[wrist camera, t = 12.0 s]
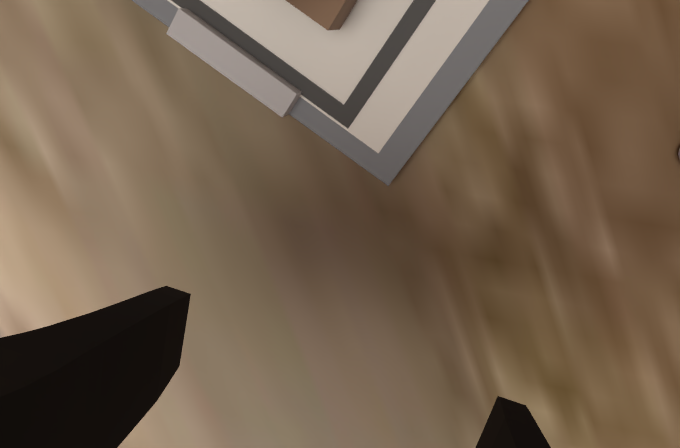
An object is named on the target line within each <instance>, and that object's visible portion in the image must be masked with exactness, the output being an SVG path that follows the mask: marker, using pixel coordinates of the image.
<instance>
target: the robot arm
mask: <svg viewBox="0 0 680 448" xmlns="http://www.w3.org/2000/svg"><path fill="white" fill-rule="evenodd" d="M678 156H679V160H680V148H679V153H678ZM190 295H191V294H189V293H186V292H183V291H180V290H177V289H174V288H171V287H168V286H165V287H161V288H158V289H155V290H152V291H149V292H147V293H144V294H141V295H138V296H136V297H133V298H130V299H128V300H125V301H122V302H120V303H117V304H114V305H111V306H108V307H106V308H103V309H100V310H97V311H94V312H92V313H89V314H85V315H82V316H79V317H76V318H73V319H69V320H66V321H63V322H60V323H57V324H53V325H50V326H47V327H43V328H40V329H36V330H32V331H28V332H24V333H20V334H16V335H11V336H7V337H2V338H0V448H117V447H118V446H119V445H120V444H121V443H122V441H123V440H124V439H125V438H126V437H127V436H128V434H129V433H130V432H131V431H132V430H133V429H134V427H135V426H136V425H137V424H138V423H139V421H140V420H141V419H142V418H143V417H144V416H145V414H146V413H147V412H148V411H149V410H150V408H151V407H152V406H153V405H154V404H155V402H156V401H157V400H158V398H159V397H160V395H161V394H162V392H163V391H164V389H165V388H166V386H167V385H168V383H169V382H170V380H171V378H172V377H173V375H174V374H175V372H176V370H177V369H178V367H179V365H180V359H181V352H182V346H183V340H184V333H185V327H186V320H187V314H188V308H189V301H190ZM476 448H551V447H550V446H549V444H548V442H547V440H546V439H545V437H544V435H543V434H542V432H541V430H540V428H539V427H538V425H537V423H536V421H535V420H534V418H533V416H532V415H531V413H530V411H529V410H528V408H527V407H526V405H523V404H520V403H517V402H514V401H511V400H508V399H505V398H502V397H499V396H498V397H497V399H496V402H495V404H494V406H493V409H492V411H491V413H490V416H489V418H488V420H487V423H486V425H485V427H484V430H483V432H482V434H481V437H480V439H479V441H478V444H477V446H476Z"/></svg>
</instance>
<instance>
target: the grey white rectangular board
mask: <svg viewBox="0 0 680 448" xmlns="http://www.w3.org/2000/svg"><path fill="white" fill-rule="evenodd" d="M132 1H133V2H135V3H136V4H138V5H139V6H140V7H142V8H143V9H144V10H146V11H147V12H149V13H150V14H151V15H153V16H154V17H156V18H157V19H158V20H160V21H161V22H162V23H164V24H165V25H167V26H168V27H169V29H168V31H167V33H166V34H168V35H169V36H170V37H172V38H173V39H174V40H176V41H177V42H179V43H180V44H181V45H183V46H184V47H185V48H187V49H188V50H190V51H191V52H192V53H194V54H195V55H197V56H198V57H199V58H201V59H202V60H203V61H205V62H206V63H208V64H209V65H210V66H212V67H213V68H215V69H216V70H217V71H219V72H220V73H221V74H223V75H224V76H226V77H227V78H228V79H230V80H231V81H232V82H234V83H235V84H237V85H238V86H239V87H241V88H242V89H244V90H245V91H246V92H248V93H249V94H250V95H252V96H253V97H255V98H256V99H257V100H259V101H260V102H262V103H263V104H264V105H266V106H267V107H268V108H270V109H271V110H273V111H274V112H275V113H277V114H278V115H279V116H281V117H284V116H286V115H288V114H290V115H291V116H292V117H294V118H295V119H296V120H298V121H299V122H301V123H302V124H303V125H305V126H306V127H307V128H309V129H310V130H312V131H313V132H314V133H316V134H317V135H319V136H320V137H321V138H323V139H324V140H325V141H327V142H328V143H330V144H331V145H332V146H334V147H335V148H336V149H338V150H339V151H341V152H342V153H343V154H345V155H346V156H348V157H349V158H350V159H352V160H353V161H354V162H356V163H357V164H359V165H360V166H361V167H363V168H364V169H365V170H367V171H368V172H370V173H371V174H372V175H374V176H375V177H377V178H378V179H379V180H381V181H382V182H383V183H385V184H386V185H388V186H389V184H390V183H391V182H392V180H393V179H394V178H395V176H396V175H397V174H398V172H399V171H400V170H401V168H402V167H403V166H404V164H405V163H406V162H407V161H408V159H409V158H410V157H411V155H412V154H413V153H414V151H415V150H416V149H417V147H418V146H419V145H420V143H421V142H422V141H423V139H424V138H425V137H426V135H427V134H428V133H429V131H430V130H431V129H432V127H433V126H434V125H435V123H436V122H437V121H438V119H439V118H440V117H441V115H442V114H443V113H444V112H445V110H446V109H447V108H448V106H449V105H450V104H451V102H452V101H453V100H454V98H455V97H456V96H457V94H458V93H459V92H460V90H461V89H462V88H463V86H464V85H465V84H466V82H467V81H468V80H469V78H470V77H471V76H472V74H473V73H474V72H475V70H476V69H477V68H478V66H479V65H480V64H481V63H482V61H483V60H484V59H485V57H486V56H487V55H488V53H489V52H490V51H491V49H492V48H493V47H494V45H495V44H496V43H497V41H498V40H499V39H500V37H501V36H502V35H503V33H504V32H505V31H506V29H507V28H508V27H509V25H510V24H511V23H512V21H513V20H514V19H515V17H516V16H517V15H518V14H519V12H520V11H521V10H522V8H523V7H524V6H525V4H526V3H527V2H528V0H357V2H356V4H355V5H354V7H353V9H352V10H351V12H350V14H349V15H348V17H347V18H346V20H345V22H344V23H343V25H342V27H341V28H340V30H326V29H325V28H324V27H322V26H321V25H319V24H318V23H317V22H315V21H314V20H312V19H311V18H310V17H308V16H307V15H305V14H304V13H303V12H301V11H300V10H298V9H297V8H295V7H294V6H293V5H291V4H290V3H288V2H287V1H286V0H132Z"/></svg>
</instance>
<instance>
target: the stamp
mask: <svg viewBox="0 0 680 448" xmlns="http://www.w3.org/2000/svg"><path fill="white" fill-rule="evenodd" d="M286 1H287V2H288V3H290V4H291V5H293V6H294V7H295V8H297V9H298V10H300V11H301V12H303V13H304V14H305V15H307V16H308V17H310V18H311V19H312V20H314V21H315V22H317V23H318V24H319V25H321V26H322V27H324V28H325V29H326V30H340V28H341V27H342V25H343V23H344V22H345V20H346V18H347V17H348V15H349V14H350V12H351V10H352V9H353V7H354V5H355V4H356V2H357V0H286Z"/></svg>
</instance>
